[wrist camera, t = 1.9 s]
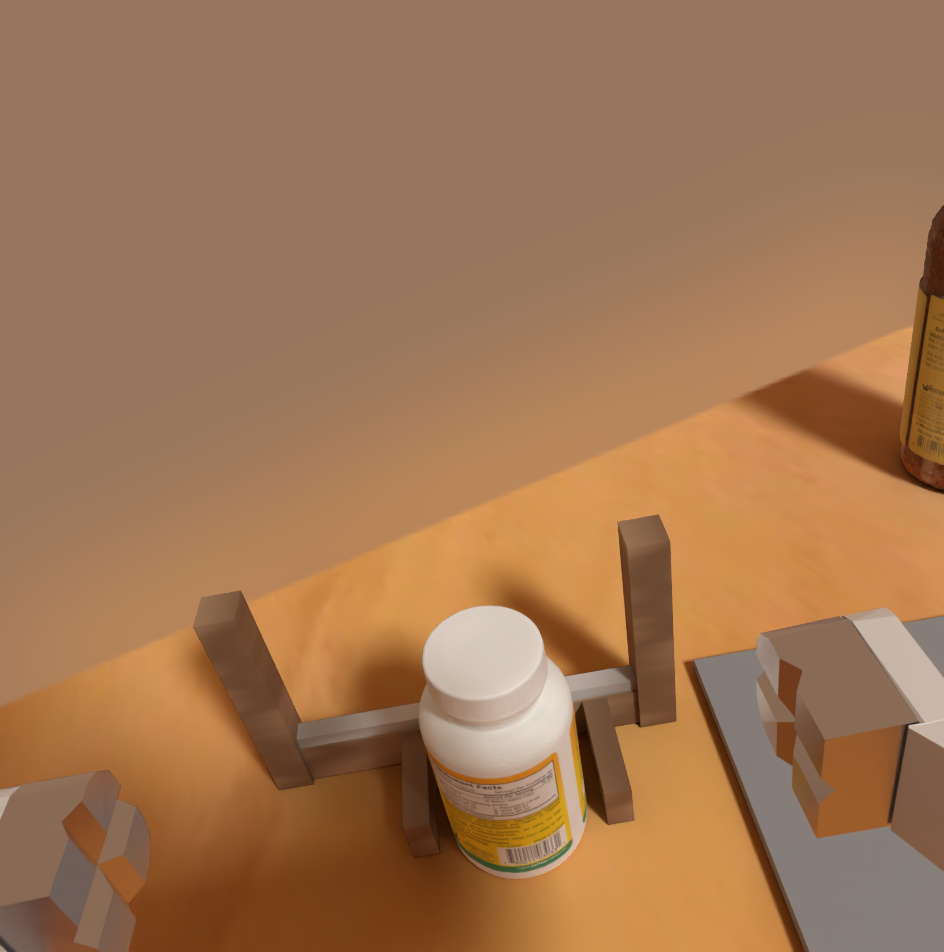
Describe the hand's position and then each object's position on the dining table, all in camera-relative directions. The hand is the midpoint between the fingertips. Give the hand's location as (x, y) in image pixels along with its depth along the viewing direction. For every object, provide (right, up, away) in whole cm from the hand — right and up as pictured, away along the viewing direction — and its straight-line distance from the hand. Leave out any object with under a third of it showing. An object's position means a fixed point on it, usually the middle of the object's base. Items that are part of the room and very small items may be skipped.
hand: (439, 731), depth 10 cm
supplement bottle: (+2, -10, +22) cm, 24 cm away
